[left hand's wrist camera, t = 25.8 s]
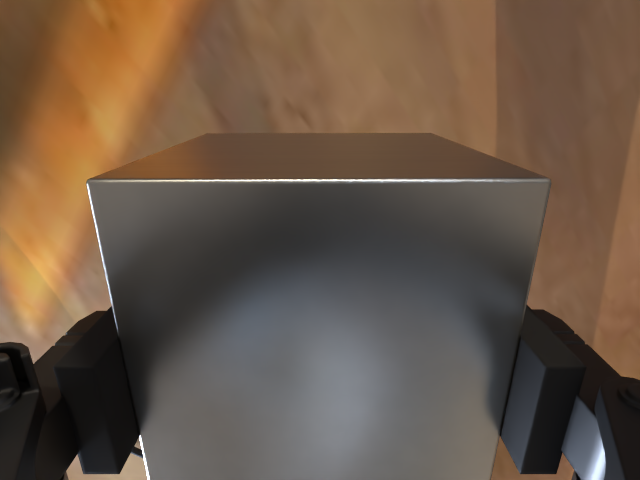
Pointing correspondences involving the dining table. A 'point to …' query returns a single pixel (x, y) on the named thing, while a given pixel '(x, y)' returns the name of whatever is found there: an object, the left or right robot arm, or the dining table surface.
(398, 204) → the block
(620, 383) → the left robot arm
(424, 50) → the dining table surface
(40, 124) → the dining table surface
